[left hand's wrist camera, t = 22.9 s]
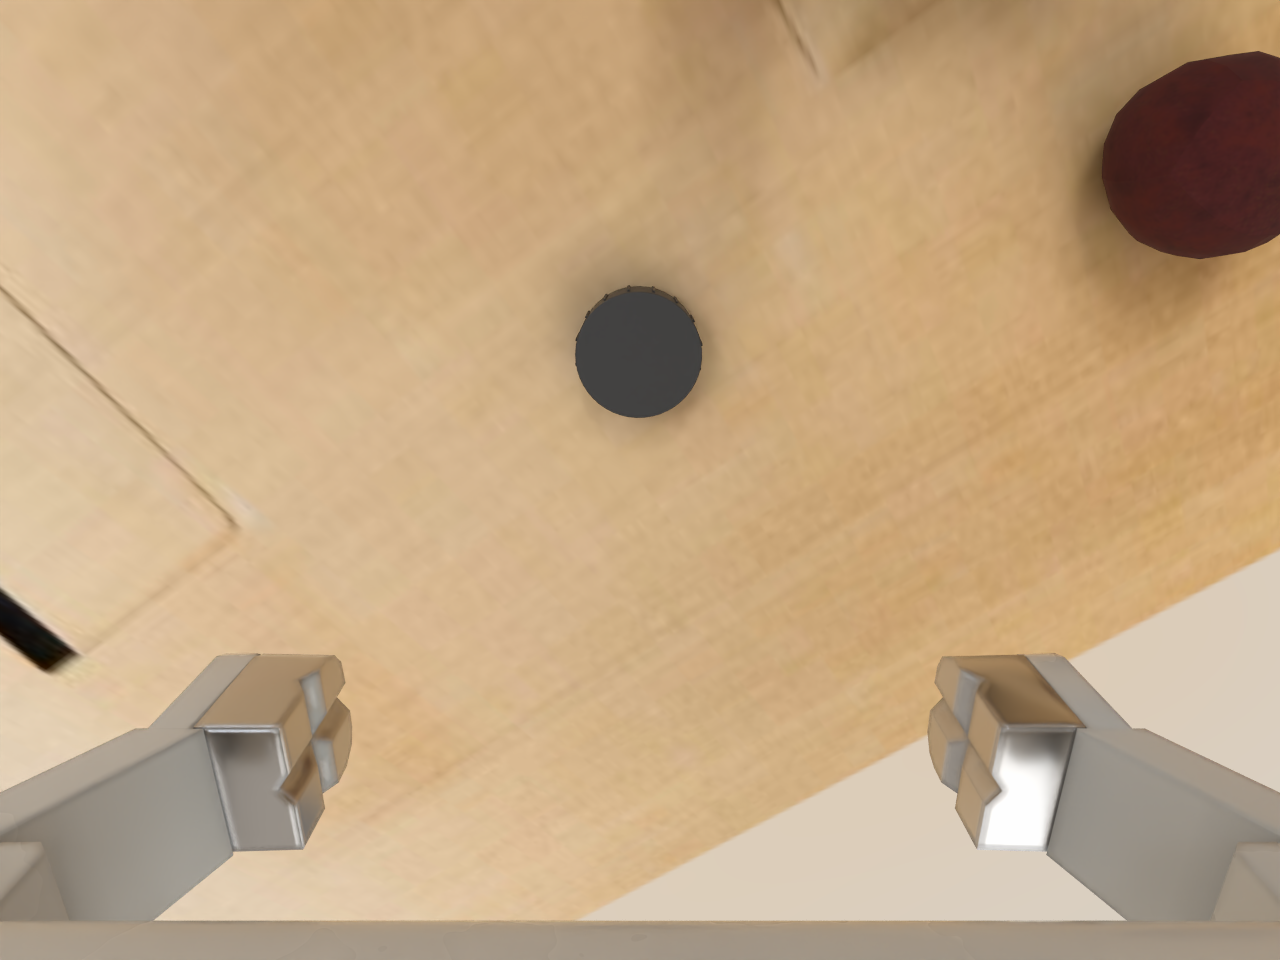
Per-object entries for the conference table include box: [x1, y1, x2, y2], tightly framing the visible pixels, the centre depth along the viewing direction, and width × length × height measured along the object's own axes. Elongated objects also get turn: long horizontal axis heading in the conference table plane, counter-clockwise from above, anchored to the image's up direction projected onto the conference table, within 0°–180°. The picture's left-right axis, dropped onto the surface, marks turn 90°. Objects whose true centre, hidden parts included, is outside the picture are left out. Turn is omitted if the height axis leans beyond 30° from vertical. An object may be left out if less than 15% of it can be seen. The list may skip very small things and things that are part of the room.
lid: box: [575, 285, 702, 418], centre depth 35 cm, size 6×6×2 cm
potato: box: [1102, 51, 1280, 259], centre depth 29 cm, size 7×8×7 cm
